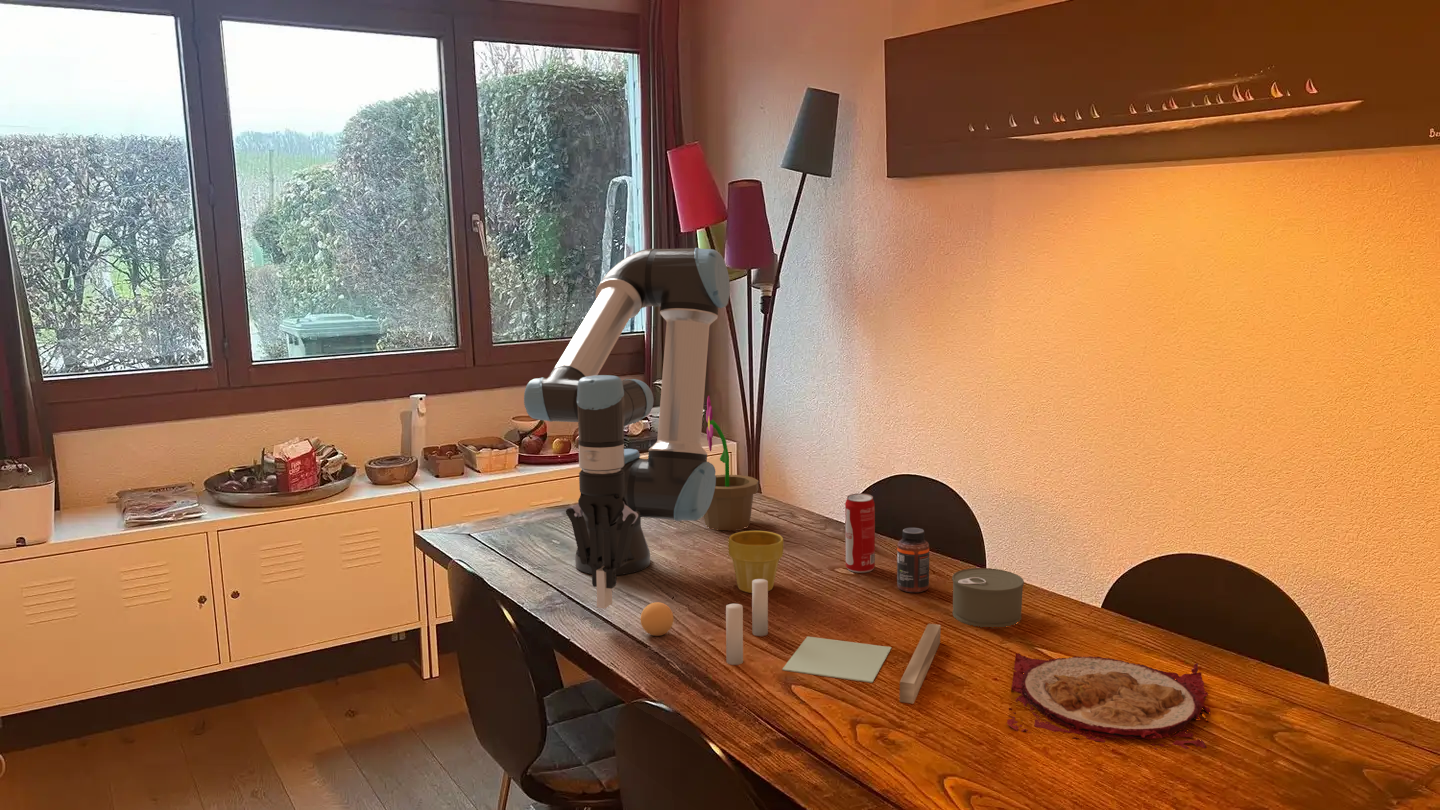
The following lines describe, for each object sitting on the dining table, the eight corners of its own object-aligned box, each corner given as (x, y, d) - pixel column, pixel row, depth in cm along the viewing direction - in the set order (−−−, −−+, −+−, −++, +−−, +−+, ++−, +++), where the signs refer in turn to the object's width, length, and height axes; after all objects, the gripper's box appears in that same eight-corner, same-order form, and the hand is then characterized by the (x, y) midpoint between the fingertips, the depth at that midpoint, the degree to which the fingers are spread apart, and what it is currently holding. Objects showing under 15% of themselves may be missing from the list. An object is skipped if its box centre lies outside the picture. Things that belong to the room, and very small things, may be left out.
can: (1036, 624, 180) (1037, 586, 178) (973, 632, 176) (974, 593, 175) (998, 601, 191) (1000, 565, 190) (939, 608, 188) (940, 571, 186)
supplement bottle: (932, 585, 199) (933, 527, 198) (924, 595, 194) (925, 536, 192) (901, 581, 202) (902, 524, 200) (892, 591, 197) (893, 532, 195)
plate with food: (1015, 665, 165) (1015, 643, 164) (1201, 682, 156) (1201, 659, 156) (1005, 738, 142) (1006, 713, 141) (1222, 762, 133) (1223, 736, 133)
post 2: (750, 634, 176) (749, 583, 174) (755, 629, 178) (754, 578, 177) (765, 636, 175) (764, 584, 173) (769, 631, 177) (769, 579, 176)
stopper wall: (899, 701, 150) (899, 681, 150) (927, 641, 172) (928, 623, 172) (913, 703, 150) (913, 683, 149) (940, 642, 172) (940, 624, 171)
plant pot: (789, 581, 203) (789, 532, 201) (774, 599, 193) (774, 547, 191) (738, 576, 206) (738, 528, 204) (721, 593, 196) (720, 542, 195)
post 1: (724, 663, 164) (723, 608, 163) (729, 657, 167) (729, 602, 165) (739, 665, 163) (739, 610, 162) (745, 659, 166) (744, 604, 164)
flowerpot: (693, 518, 249) (692, 392, 244) (754, 515, 250) (753, 390, 245) (699, 534, 235) (697, 401, 230) (763, 532, 236) (762, 400, 231)
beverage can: (874, 564, 212) (875, 492, 210) (875, 574, 206) (876, 500, 204) (844, 563, 213) (845, 491, 211) (844, 574, 207) (845, 499, 204)
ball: (635, 638, 175) (634, 606, 174) (649, 626, 180) (648, 596, 179) (665, 642, 173) (665, 610, 172) (678, 630, 178) (678, 599, 177)
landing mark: (782, 670, 162) (782, 668, 161) (807, 637, 174) (807, 636, 174) (872, 682, 157) (872, 681, 157) (891, 648, 170) (891, 647, 170)
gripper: (556, 470, 174) (559, 608, 177) (627, 476, 169) (630, 617, 173) (577, 462, 181) (580, 594, 184) (646, 467, 176) (648, 603, 180)
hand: (604, 605), depth 179 cm, fingers closed
